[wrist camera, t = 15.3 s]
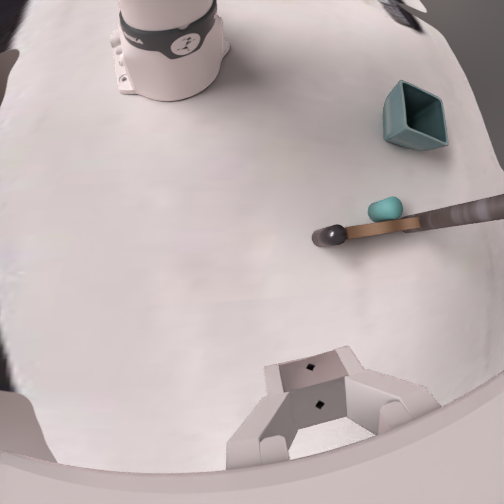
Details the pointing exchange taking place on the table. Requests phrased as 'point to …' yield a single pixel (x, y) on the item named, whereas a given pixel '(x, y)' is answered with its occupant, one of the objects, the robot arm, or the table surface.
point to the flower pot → (414, 118)
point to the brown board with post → (436, 218)
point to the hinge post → (329, 236)
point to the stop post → (385, 209)
